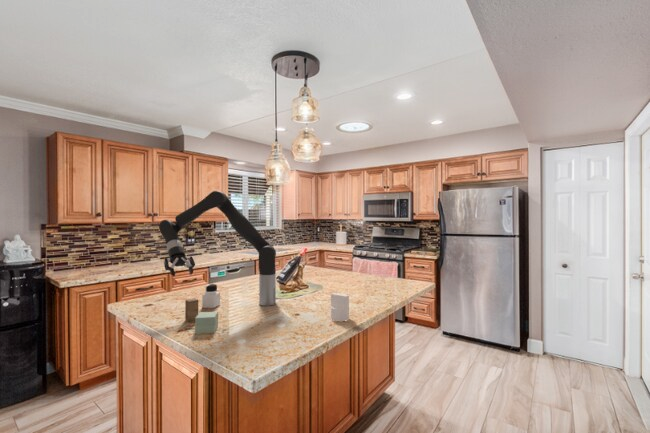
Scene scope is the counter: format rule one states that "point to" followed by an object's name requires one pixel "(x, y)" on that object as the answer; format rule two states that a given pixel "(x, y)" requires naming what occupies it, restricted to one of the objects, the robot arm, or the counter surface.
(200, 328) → the sage slab lower
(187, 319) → the walnut block
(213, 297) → the medicine bottle
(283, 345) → the counter surface
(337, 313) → the light grey block
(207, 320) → the sage slab upper
